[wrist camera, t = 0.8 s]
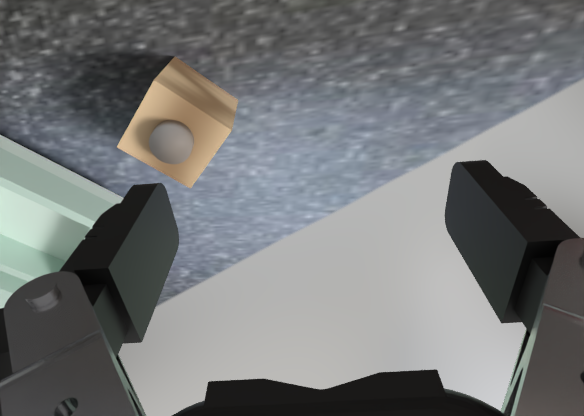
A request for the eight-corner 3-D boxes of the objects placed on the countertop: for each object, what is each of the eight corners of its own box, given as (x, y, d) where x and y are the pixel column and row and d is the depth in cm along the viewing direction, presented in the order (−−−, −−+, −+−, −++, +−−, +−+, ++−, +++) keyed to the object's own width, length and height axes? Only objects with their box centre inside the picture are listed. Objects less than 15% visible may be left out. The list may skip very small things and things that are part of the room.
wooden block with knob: (142, 114, 28) (111, 154, 22) (174, 56, 26) (149, 85, 20) (202, 151, 30) (187, 196, 24) (238, 100, 27) (230, 137, 22)
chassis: (-59, 245, 33) (-114, 294, 29) (-12, 110, 27) (-74, 145, 22) (83, 300, 38) (56, 351, 33) (151, 197, 32) (130, 241, 27)
